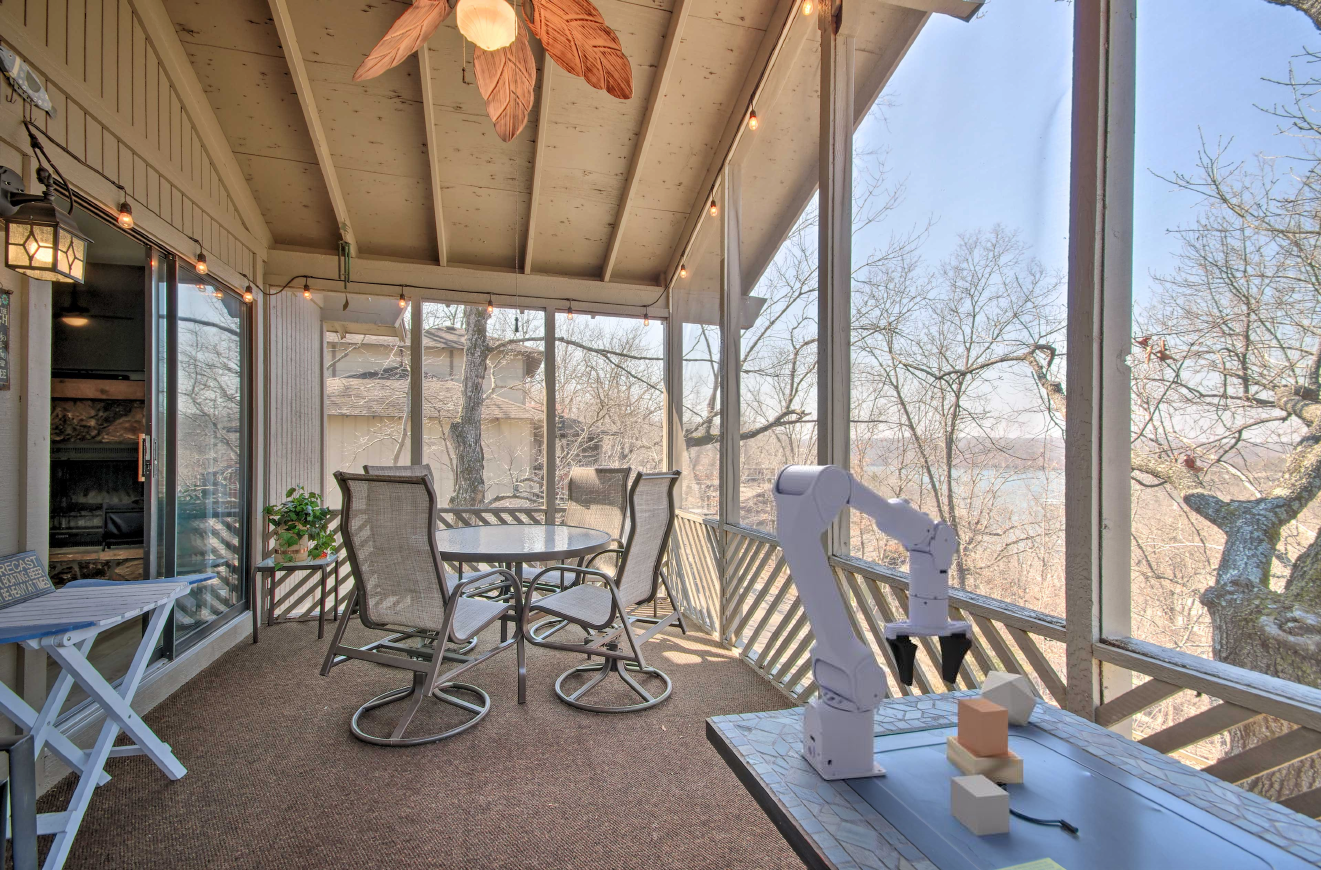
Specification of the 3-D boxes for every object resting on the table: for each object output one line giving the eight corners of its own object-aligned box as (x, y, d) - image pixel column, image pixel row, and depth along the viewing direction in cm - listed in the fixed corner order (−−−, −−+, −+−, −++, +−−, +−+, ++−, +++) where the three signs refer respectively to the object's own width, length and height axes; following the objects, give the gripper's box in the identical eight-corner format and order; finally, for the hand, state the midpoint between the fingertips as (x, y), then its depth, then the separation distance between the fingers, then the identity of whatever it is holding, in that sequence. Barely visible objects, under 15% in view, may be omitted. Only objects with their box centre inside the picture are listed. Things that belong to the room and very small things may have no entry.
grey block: (976, 836, 70) (976, 797, 70) (950, 814, 74) (950, 777, 75) (1009, 832, 71) (1009, 793, 71) (981, 810, 75) (981, 774, 76)
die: (1034, 720, 105) (999, 666, 110) (1058, 713, 98) (1020, 656, 103) (994, 738, 104) (961, 683, 109) (1015, 732, 97) (979, 674, 102)
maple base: (974, 785, 82) (974, 759, 82) (946, 760, 89) (946, 735, 89) (1023, 785, 82) (1023, 758, 83) (991, 759, 89) (991, 735, 89)
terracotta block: (982, 756, 83) (982, 712, 83) (957, 741, 87) (957, 699, 87) (1008, 752, 84) (1007, 709, 84) (982, 738, 88) (982, 697, 89)
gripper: (902, 602, 89) (901, 694, 88) (986, 600, 92) (986, 690, 91) (876, 592, 96) (875, 677, 95) (955, 590, 99) (954, 673, 98)
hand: (927, 682), depth 94 cm, fingers open, 7 cm apart
